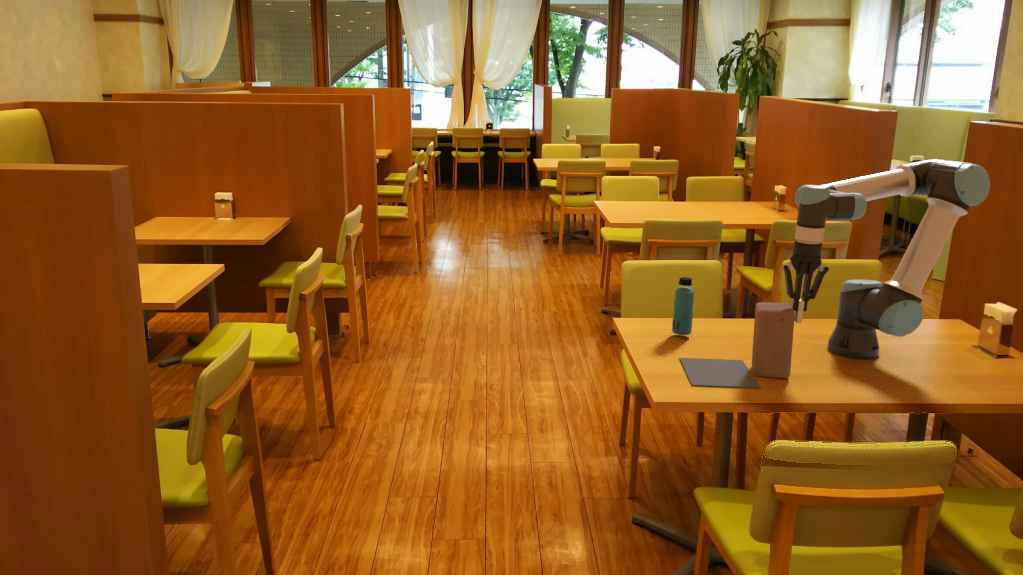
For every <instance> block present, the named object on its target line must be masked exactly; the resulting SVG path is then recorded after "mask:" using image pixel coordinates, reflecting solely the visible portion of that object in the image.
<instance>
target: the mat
mask: <svg viewBox="0 0 1023 575" xmlns="http://www.w3.org/2000/svg"><path fill="white" fill-rule="evenodd" d="M678 359H679V362H680V364H681V366H682V368H683V371H684V372H685V374H686V376H687V379H688V381H689V384H690V385H691V386H692V387H709V388H731V389H732V388H734V389H735V388H736V389H754V390H755V389H757V390H758V389H759V390H761V389H762V387H761V385H760V384H759V382H758V381H757V380H756V378H755V375H753V373H752V372H751V371H750V369H749V368H748V366H747V365H746V363H745V361H744V360H742V359H724V358H723V359H722V358H721V359H719V358H698V357H697V358H696V357H695V358H694V357H679V358H678Z"/></svg>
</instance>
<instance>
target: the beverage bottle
mask: <svg viewBox="0 0 1023 575" xmlns="http://www.w3.org/2000/svg"><path fill="white" fill-rule="evenodd" d="M692 281H693V279H692V278H691V277H687V276H682V277H680V278H679V279H678V285H680V286H678V287H677V288H676V289H675V290H674V301H673V313H672V314H673V315H672V323H671V325H672V327H671V331H672V333H673V334H675V335H678V336H690V335H691V334H692V332H693V331H692V329H693V317H694V316H693V315H694V301H695V300H694V299H695V294H696V293H695V290H694V289H693V288H692V287H690V286H692V285H693V282H692Z"/></svg>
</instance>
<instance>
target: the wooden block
mask: <svg viewBox="0 0 1023 575" xmlns="http://www.w3.org/2000/svg"><path fill="white" fill-rule="evenodd" d="M792 307H793V306H792V305H791V304H790V303H785V302H766V301H763V302H762V301H759V302H756V304H755V308H754V309H755V310H754V320H753V322H754V323H753V324H754V326H753V335H752V338H753V339H752V354H751V367H752V370H753V374H754V375H753V376H754V377H755V376H756V377H761V378H778V379H788V378H790V375H791V367H792V366H791V365H792V357H793V356H792V353H793V342H794V332H795V331H794V330H795V329H794V327H795V321H794V318H795V311H794V310H793V308H792Z"/></svg>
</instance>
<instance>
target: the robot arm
mask: <svg viewBox="0 0 1023 575" xmlns="http://www.w3.org/2000/svg"><path fill="white" fill-rule="evenodd" d="M990 188H991V181H990V178H989V174H988V171H987V170H986V169H985V168H984V167H983V166H981V165H979V164H977V163H976V164H975V163H971V162H969V161H965V162H964V161H959V160H958V161H956V160H952V159H951V160H950V159H945V158H930V159H925V160H919V161H914V162H909V163H906V164H905V163H904V164H900V165H898V166H897V167H895V168H894V169H893V170H889V171H884V172H878V173H874V174H868V175H863V176H858V177H854V178H850V179H849V178H848V179H845V180H840V181H836V182H835V181H834V182H831V183H826V184H825V183H824V184H820V185H818V184H817V185H816V184H803V185H802V186H801V185H800V187H798V188H797V190H796V191H795V195H794V202H795V205H796V206H797V208H798V210H797V217H796V218H797V219H796V225H795V233H794V239H795V240H794V241H793V249H792V255H791V257H790V259H789V261H788V262H786V263H782V264H781V268H782V270H783V272H784V279H785V285H786V286H785V288H786V294H787V296H788V297H789V298H790V299H793V302H792V306H791V307H792V309H793V311H794V314H795V318H794V323H796V324H802V322H803V314H804V312H807V310H808V303H809V301H810V300H814V299H816V297H817V294H818V292H819V289H820V287H821V284H822V282H823V280H824V277H825V275H826V274H827V273H828V272H829V270H830V268H829V267H828V266H827V265H825V264H823V261H822V258H821V257H822V250H823V243H822V242H824V236H825V229H826V228H825V227H826V223H827V222H826V221H836V220H837V221H838V220H839V221H845V220H847V221H852V220H858V219H861V218H862V217H864V215H865V214H866V212H867V206H868V204H867V202H869V201H874V200H878V199H883V198H889V197H894V196H898V195H899V196H901V197H909V196H923V197H926V201H927V204H928V207H927V209H926V211H925V214H924V215H923V217H922V219H921V221H920V223H919V225H918V227H917V229H916V231H915V233H914V234H913V237H912V238H911V240H910V242H909V245H908V246H907V249H906V250H905V253H904V254H903V256H902V258H901V260H900V262H899V264H898V266H897V268H896V270H895V272H894V273H893V276H892V278H891V279H889V280H886V281H884V282H882V281H879V280H873V279H848V280H845V281H844V282H843V283H842V284H841V290H840V292H839V301H838V302H839V303H838V310H837V316H836V317H837V318H836V325H835V327H834V329H833V331H832V332H831V334H830V337H829V339H828V342H827V349H828V350H829V351H830V352H832V353H833V354H836V355H839V356H843V357H847V358H852V359H874V358H876V357H878V356H879V353H880V344H879V340H878V334H877V333H878V332H877V330H878V331H880V332H881V333H884V334H885V335H890V336H893V337H896V338H897V337H901V338H902V337H906V336H907V335H910V334H912V333H914V332H915V331H916V330H917V329H918V328H919V327H920V325H921V324H922V322H923V319H924V316H925V314H924V313H923V312H924V307H923V306H922V302H923V300H924V297H923V294H922V290H923V287H924V286H925V283H926V282H927V280H928V279H929V276H930V274H931V273H932V270H933V269H934V266H935V264H936V263H937V260H938V259H939V257H940V255H941V253H942V252H943V249H944V247H945V245H946V243H947V242H948V240H949V238H950V236H951V233H952V232H953V230H954V228H955V226H956V224H957V222H958V220H959V219H960V217H963V216H966V215H968V213H969V211H970V210H971V207H975V206H979V205H980V204H982V203H983V202H984V201H985V200H986V199H987V197H988V195H989V191H990ZM792 268H793V269H794V271H795V280H794V284H793V279H792V278H793V277H792V272H791V270H792ZM816 270H818V271H817V272H816V275H815V278H814V280H813V283H812V279H813V277H814V273H815V271H816ZM803 278H804V280H803ZM793 285H794V286H793ZM802 286H803V287H802ZM801 293H802V294H801Z"/></svg>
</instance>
